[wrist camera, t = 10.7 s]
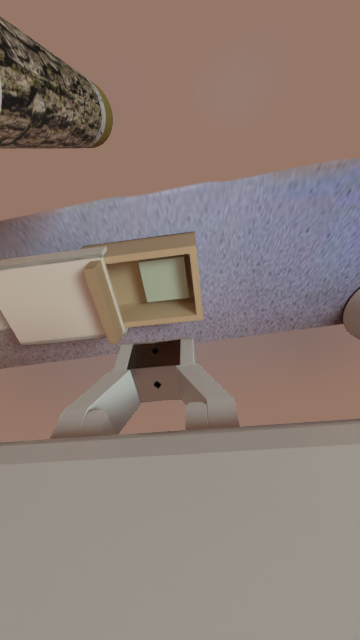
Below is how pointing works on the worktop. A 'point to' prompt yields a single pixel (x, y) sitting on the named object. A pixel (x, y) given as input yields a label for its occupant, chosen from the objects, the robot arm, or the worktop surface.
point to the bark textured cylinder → (46, 98)
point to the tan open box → (155, 279)
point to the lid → (60, 297)
